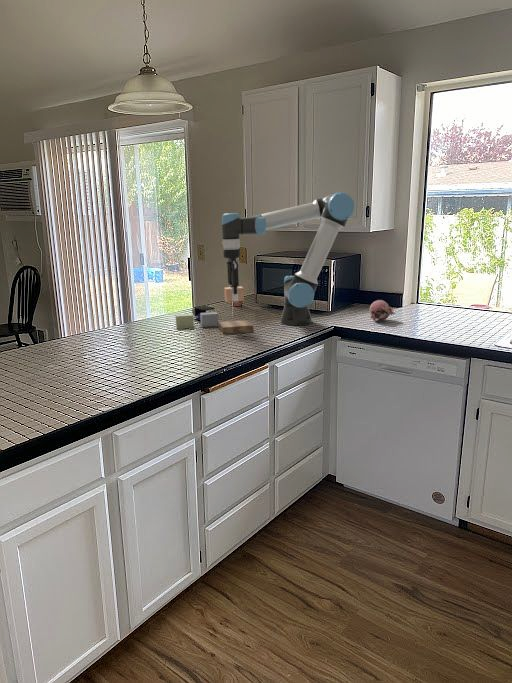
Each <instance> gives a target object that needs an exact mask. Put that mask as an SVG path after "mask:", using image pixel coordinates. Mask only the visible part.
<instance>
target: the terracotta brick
mask: <svg viewBox="0 0 512 683" xmlns="http://www.w3.org/2000/svg"><path fill="white" fill-rule="evenodd" d="M223 292H224V293H223V294H224V301H225V303H236V302H244V301H245V296H244V295H245V294H244V293H245V292H244V287H243V286H240V285H239V286H238V301H232V287H229V286H227V287H223Z"/></svg>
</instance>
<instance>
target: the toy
mask: <svg viewBox="0 0 512 683" xmlns="http://www.w3.org/2000/svg"><path fill="white" fill-rule="evenodd" d="M368 310H369V314H370V316H369V317H370V318H371V319H372V320H373V321H374V322H375V323H377V322H376V320H378V321H380V322H381V321H384V320H385V321H386V320H387V319H388V318H389V316H390V315H391V316H393V315H396V313H395V312H394V311H395V310H394V309H393V308H392V307H391V306H390V305H389V303H387V302H386V301H384V300H383V299H377V300H375V301H373V302H372V303H371V304H370V306H369V309H368Z"/></svg>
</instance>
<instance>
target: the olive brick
mask: <svg viewBox="0 0 512 683" xmlns="http://www.w3.org/2000/svg"><path fill="white" fill-rule="evenodd" d="M174 315H175V327H176V329H179V330H180V329H192V328H194V327H195V324H194V323H195V322H194V315H193V313H180V314H174Z"/></svg>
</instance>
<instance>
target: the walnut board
mask: <svg viewBox="0 0 512 683" xmlns="http://www.w3.org/2000/svg"><path fill="white" fill-rule="evenodd" d="M217 327H218V329H219V331H220V332H221V334H223V335H227V334H240V333H242V334H243V333H252V332H254V325H253V324H252V323H251V322H250V321H249V320H248V319H245V320H229V321H227V320H226V321H218V326H217Z"/></svg>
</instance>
